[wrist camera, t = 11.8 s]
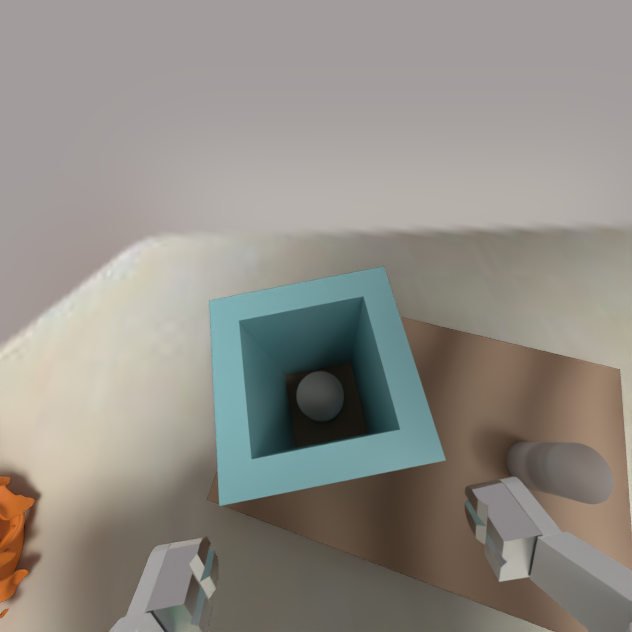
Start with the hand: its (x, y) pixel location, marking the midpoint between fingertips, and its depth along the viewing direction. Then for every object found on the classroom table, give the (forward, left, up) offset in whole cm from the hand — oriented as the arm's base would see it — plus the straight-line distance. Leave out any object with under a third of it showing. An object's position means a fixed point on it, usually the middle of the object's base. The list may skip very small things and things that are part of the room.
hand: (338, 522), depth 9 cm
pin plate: (-4, -4, -10) cm, 11 cm away
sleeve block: (+2, -4, -8) cm, 10 cm away
